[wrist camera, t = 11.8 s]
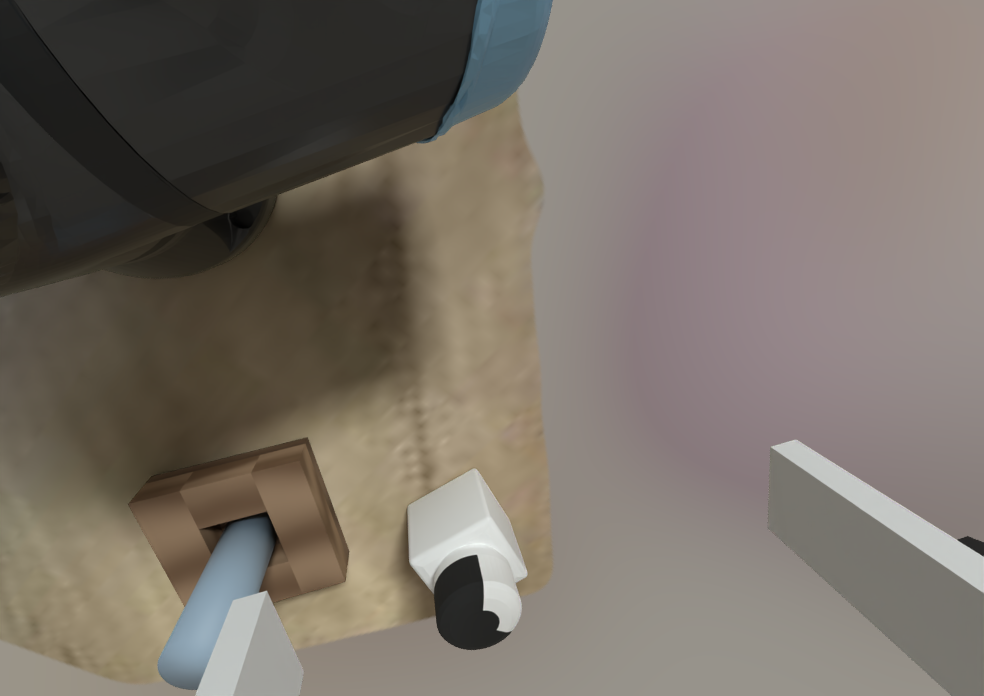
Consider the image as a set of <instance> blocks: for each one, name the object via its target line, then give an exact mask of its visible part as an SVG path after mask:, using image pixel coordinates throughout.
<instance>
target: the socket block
mask: <svg viewBox="0 0 984 696" xmlns="http://www.w3.org/2000/svg"><path fill="white" fill-rule="evenodd" d="M128 505H129V507H130V509H131V511H132V513H133V514H134V516H135V518H136V520H137V522H138V523H139V525H140V527H141V529H142V531H143V533H144V534H145V536H146V538H147V540H148V542H149V543H150V545H151V547H152V549H153V551H154V552H155V554H156V556H157V558H158V560H159V561H160V563H161V565H162V567H163V569H164V571H165V572H166V574H167V576H168V578H169V580H170V581H171V583H172V585H173V587H174V589H175V590H176V592H177V594H178V596H179V598H180V599H181V601H182V603H183V605H184V607H185V606H186V604H187V602H188V600H189V598H190V596H191V594H192V592H193V590H194V588H195V586H196V584H197V582H198V580H199V578H200V576H201V574H202V572H203V570H204V568H205V566H206V564H207V562H208V560H209V559H210V557H211V555H212V553H213V551H214V549H215V547H216V545H217V543H218V541H219V539H220V537H221V535H222V533H223V531H224V529H225V527H226V525H227V523H228V522H229V521H232V520H236V519H240V518H244V517H247V516H251V515H255V514H259V513H262V512H266V511H267V512H268V514H269V517H270V519H271V521H272V524H273V526H274V528H275V531H276V533H277V535H278V537H277V540H276V543H275V546H274V549H273V552H272V555H271V558H270V561H269V564H268V567H267V569H266V572H265V575H264V578H263V581H262V584H261V587H260V590H259V593H260V592H264V591H267V592H268V594H269V596H270V599H271V601H272V603H273V602H277V601H280V600H284V599H287V598H291V597H294V596H297V595H301V594H304V593H308V592H311V591H315V590H318V589H322V588H325V587H329V586H332V585H336V584H339V583H342V582H345V580H346V573H347V565H348V557H349V549H348V547H347V544H346V541H345V538H344V536H343V533H342V530H341V528H340V525H339V522H338V519H337V517H336V514H335V511H334V508H333V506H332V503H331V500H330V497H329V495H328V492H327V489H326V486H325V484H324V481H323V478H322V476H321V473H320V470H319V467H318V465H317V462H316V459H315V456H314V454H313V451H312V448H311V445H310V443H309V440H308V437H307V438H303V439H299V440H295V441H291V442H287V443H283V444H279V445H275V446H271V447H267V448H263V449H259V450H255V451H251V452H247V453H243V454H239V455H235V456H231V457H227V458H223V459H219V460H215V461H211V462H207V463H203V464H199V465H195V466H191V467H187V468H183V469H179V470H175V471H171V472H167V473H163V474H159V475H155V476H152V477H151V478H150V479H149V480H148V481H147V482H146V484H145V485H144V486H143V487H142V488H141V490H140V491H139V492H138V493H137V494H136V495H135V497H134V498H133V499H132V500H131V501H130V502H129V504H128Z"/></svg>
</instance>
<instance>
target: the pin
mask: <svg viewBox="0 0 984 696" xmlns="http://www.w3.org/2000/svg"><path fill="white" fill-rule="evenodd" d="M277 537H278V535H277V533H276V531H275V528H274V526H273V524H272V521H271V519H270V517H269V514H268V512H267V511H266V512H262V513H259V514H255V515H251V516H247V517H244V518H240V519H236V520H232V521H229V522H228V523H227V525H226V527H225V529H224V531H223V533H222V535H221V537H220V539H219V541H218V543H217V545H216V547H215V549H214V551H213V553H212V555H211V557H210V559H209V560H208V562H207V564H206V566H205V568H204V570H203V572H202V574H201V576H200V578H199V580H198V582H197V584H196V586H195V588H194V590H193V592H192V594H191V596H190V598H189V600H188V602H187V604H186V606H185V608H184V610H183V612H182V614H181V616H180V618H179V620H178V622H177V624H176V626H175V628H174V630H173V632H172V634H171V636H170V638H169V640H168V642H167V644H166V646H165V648H164V650H163V652H162V654H161V656H160V658H159V660H158V671H159V673H160V675H161V677H162V678H163V679H164V680H165V681H166V682H168V683H169V684H171V685H173V686H175V687H178V688H182V689H188V690H198V687H199V685H200V682H201V680H202V677H203V675H204V672H205V669H206V667H207V664H208V662H209V659H210V657H211V654H212V652H213V649H214V647H215V644H216V642H217V639H218V637H219V634H220V632H221V629H222V627H223V624H224V622H225V619H226V616H227V614H228V611H229V609H230V606H231V604H232V601H233V600H236V599H239V598H243V597H246V596H250V595H253V594H257V593H259V590H260V587H261V584H262V581H263V578H264V575H265V572H266V569H267V567H268V564H269V561H270V558H271V555H272V552H273V549H274V546H275V543H276V540H277Z"/></svg>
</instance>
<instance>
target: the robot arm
mask: <svg viewBox="0 0 984 696" xmlns="http://www.w3.org/2000/svg"><path fill="white" fill-rule="evenodd" d="M552 1H553V0H0V297H3V296H6V295H10V294H14V293H18V292H21V291H25V290H29V289H33V288H36V287H40V286H44V285H47V284H51V283H55V282H59V281H62V280H66V279H70V278H74V277H77V276H81V275H85V274H89V273H92V272H96V271H100V270H107V271H111V272H115V273H119V274H123V275H127V276H133V277H141V278H175V277H183V276H188V275H193V274H197V273H200V272H203V271H206V270H208V269H211V268H213V267H215V266H218V265H220V264H222V263H224V262H226V261H228V260H230V259H232V258H234V257H235V256H237V255H238V254H239V253H241V252H242V251H243V250H245V249H246V248H247V247H248V246H249V245H250V244H251V243H252V242H253V241H254V240H255V239H256V238H257V236H258V235H259V234H260V232H261V231H262V229H263V228H264V226H265V225H266V223H267V221H268V219H269V217H270V215H271V212H272V210H273V207H274V204H275V200H276V195H279V194H282V193H284V192H287V191H289V190H292V189H295V188H297V187H300V186H303V185H305V184H308V183H310V182H313V181H316V180H318V179H321V178H324V177H326V176H329V175H332V174H334V173H337V172H339V171H342V170H345V169H347V168H350V167H353V166H355V165H358V164H360V163H363V162H366V161H368V160H371V159H374V158H376V157H379V156H381V155H384V154H387V153H389V152H392V151H395V150H397V149H400V148H402V147H405V146H408V145H410V144H413V143H427V142H431V141H434V140H436V139H437V137H438V136H441V135H444V134H445V133H446V132H447V131H448V130H449V129H450V128H451V127H452V126H454V125H456V124H458V123H460V122H463V121H465V120H467V119H469V118H472V117H474V116H476V115H478V114H481V113H483V112H485V111H487V110H490V109H492V108H494V107H496V106H498V105H500V104H501V103H503V101H505V100H506V99H507V98H508V97H509V96H511V95H512V94H513V93H514V92H515V91H516V90H517V89H518V87H519V86H520V85H521V84H522V83H523V81H524V80H525V78H526V77H527V75H528V73H529V71H530V69H531V68H532V66H533V64H534V62H535V60H536V57H537V55H538V52H539V50H540V47H541V44H542V41H543V38H544V35H545V31H546V28H547V25H548V20H549V16H550V11H551V7H552ZM768 529H769V530H770V531H771V532H772V533H773V534H774V535H775V536H777V537H778V538H779V539H780V540H781V541H782V542H783V543H784V544H785V545H786V546H788V547H789V548H790V549H791V550H792V551H793V552H794V553H795V554H796V555H797V556H799V557H800V558H801V559H802V560H803V561H804V562H805V563H806V564H807V565H808V566H810V567H811V568H812V569H813V570H814V571H815V572H816V573H817V574H818V575H819V576H821V577H822V578H823V579H824V580H825V581H826V582H827V583H828V584H829V585H831V586H832V587H833V588H834V589H835V590H836V591H837V592H838V593H839V594H840V595H841V596H842V597H844V598H845V599H846V600H847V601H848V602H849V603H850V604H851V605H852V606H853V607H855V608H856V609H857V610H858V611H859V612H860V613H861V614H862V615H863V616H864V617H866V618H867V619H868V620H869V621H870V622H871V623H872V624H873V625H874V626H875V627H877V628H878V629H879V630H880V631H881V632H882V633H883V634H884V635H885V636H886V637H888V638H889V639H890V640H891V641H892V642H893V643H894V644H895V645H896V646H897V647H899V648H900V649H901V650H902V651H903V652H904V653H905V654H906V655H907V656H908V657H910V658H911V659H912V660H913V661H914V662H915V663H916V664H917V665H918V666H920V667H921V668H922V669H923V670H924V671H925V672H926V673H927V674H928V675H929V676H930V677H931V678H933V679H934V680H935V681H936V682H937V683H938V684H939V685H940V686H941V687H942V688H944V689H945V690H946V691H947V692H948V693H949V694H950V695H951V696H984V542H981V541H979V540H976V539H973V538H971V537H968V536H967V537H964V538H961V539H958V540H956V539H954V538H953V537H951V536H950V535H948V534H946V533H945V532H943V531H942V530H940V529H938V528H937V527H935V526H934V525H932V524H930V523H929V522H927V521H926V520H924V519H922V518H921V517H919V516H918V515H916V514H914V513H913V512H911V511H910V510H907V509H906V508H905V507H903V506H902V505H900V504H898V503H897V502H895V501H893V500H892V499H890V498H889V497H887V496H885V495H884V494H882V493H881V492H879V491H877V490H875V489H874V488H873V487H871V486H869V485H868V484H866V483H865V482H863V481H861V480H860V479H858V478H857V477H855V476H853V475H852V474H850V473H849V472H847V471H845V470H844V469H842V468H841V467H839V466H837V465H836V464H834V463H833V462H831V461H829V460H828V459H826V458H824V457H823V456H821V455H820V454H818V453H816V452H815V451H813V450H812V449H810V448H809V447H807V446H805V445H804V444H802V443H801V442H799V441H797V440H793V441H789V442H786V443H782V444H779V445H775V446H772V447H770V474H769V501H768ZM303 674H304V670H303V668H302V666H301V664H300V661H299V659H298V657H297V655H296V653H295V651H294V648H293V646H292V644H291V642H290V640H289V638H288V635H287V633H286V631H285V629H284V627H283V625H282V622H281V620H280V618H279V616H278V614H277V612H276V609H275V607H274V605H273V603H272V601H271V599H270V596H269V594H268V592H267V591H264V592H260V593H257V594H253V595H250V596H246V597H243V598H239V599H236V600H233V601H232V604H231V606H230V609H229V611H228V614H227V616H226V619H225V622H224V624H223V627H222V629H221V632H220V634H219V637H218V639H217V642H216V644H215V647H214V649H213V652H212V654H211V657H210V659H209V662H208V664H207V667H206V669H205V672H204V675H203V677H202V680H201V682H200V685H199V687H198V690H197V692H196V695H195V696H300V690H301V684H302V680H303Z"/></svg>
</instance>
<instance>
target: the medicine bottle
mask: <svg viewBox="0 0 984 696" xmlns="http://www.w3.org/2000/svg"><path fill="white" fill-rule="evenodd" d="M407 517H408V544H409V563H410V565H411V566H412V568H413V569H414V570H415V571H416V573H417V574H418V575H419V576H420V578H421V579H422V580H423V581H424V583H425V584H426V585H427V586H428V588H429V589H430V590H431V592H432V593H433V594H434V601H435V611H436V622H437V628H438V630H439V633H440V634H441V636H442V637H443V638H444V639H445V640H446V641H447V642H448V643H450V644H452V645H454V646H455V647H458V648H461V649H467V650H477V649H483V648H487V647H490V646H492V645H495V644H497V643H499V642H500V641H502V640H503V639H505V638H506V637H507V636H508V635H509V634H510V633H511V632H512V631H513V629H514V628H515V626H516V625H517V623H518V621H519V618H520V616H521V611H522V605H521V600H520V597H519V593H518V590H517V587H516V583H517V582H518V581H520V580H522V579H524V578H525V577H526V576H527V569H526V567H525V564H524V561H523V558H522V555H521V552H520V549H519V546H518V543H517V540H516V538H515V535H514V532H513V529H512V526H511V523H510V520H509V518H508V517H507V515H506V514H505V512H504V511H503V509H502V507H501V506H500V504H499V503H498V501H497V500H496V498H495V496H494V495H493V493H492V492H491V490H490V489H489V487H488V486H487V484H486V482H485V481H484V479H483V478H482V476H481V475H480V473H479V472H478V470H477V469H471V470H470V471H468V472H466V473H464V474H463V475H461V476H459V477H457V478H455V479H454V480H452V481H450V482H448V483H447V484H445V485H443V486H441V487H439V488H438V489H436V490H434V491H432V492H431V493H429V494H427V495H425V496H423V497H422V498H420V499H418V500H416V501H415V502H413V503H411V504H409V505H408V508H407Z"/></svg>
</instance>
